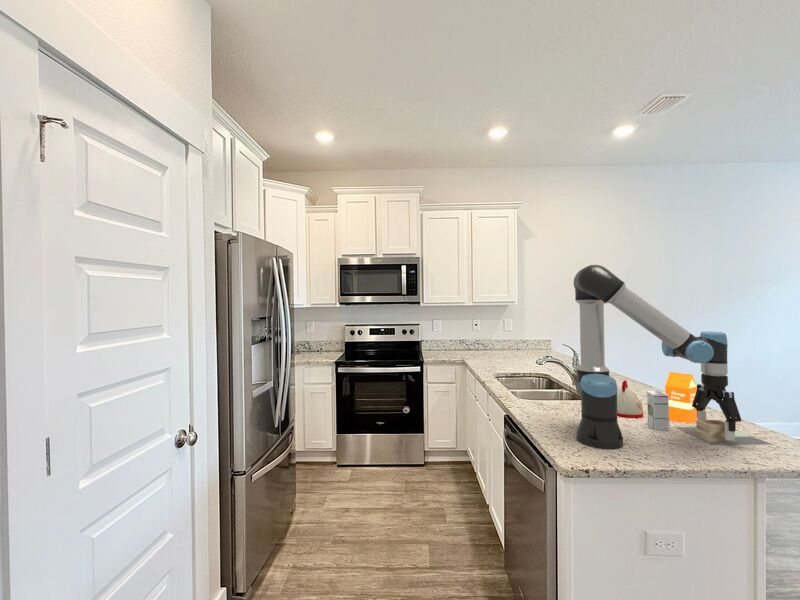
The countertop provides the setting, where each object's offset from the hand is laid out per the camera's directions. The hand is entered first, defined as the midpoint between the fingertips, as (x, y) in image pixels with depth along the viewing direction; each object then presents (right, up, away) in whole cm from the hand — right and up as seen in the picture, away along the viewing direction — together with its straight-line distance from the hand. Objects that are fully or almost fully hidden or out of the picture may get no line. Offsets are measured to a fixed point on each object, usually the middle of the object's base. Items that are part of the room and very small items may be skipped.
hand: (715, 433), depth 140 cm
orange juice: (+5, -3, +24) cm, 25 cm away
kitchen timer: (-13, -3, +34) cm, 36 cm away
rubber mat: (+5, -2, +4) cm, 7 cm away
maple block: (0, -2, 0) cm, 2 cm away
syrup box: (-12, -3, +13) cm, 18 cm away
